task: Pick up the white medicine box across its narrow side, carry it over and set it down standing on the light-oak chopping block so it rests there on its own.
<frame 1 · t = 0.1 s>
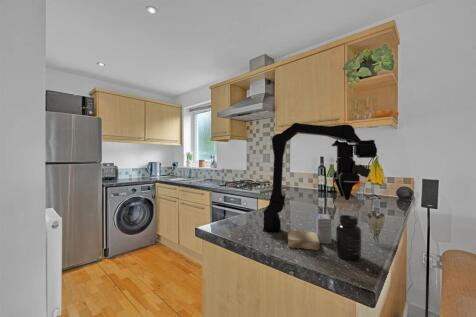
hand: (344, 198, 86), 15 cm above the counter, fingers open, 9 cm apart
supplement bottle: (348, 257, 67), on the counter
oak block: (302, 244, 78), on the counter
medicine box: (323, 240, 81), on the counter
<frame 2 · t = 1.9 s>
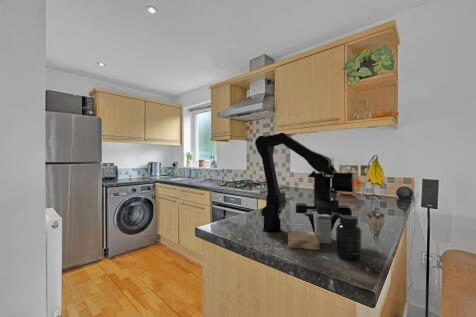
hand: (321, 232, 81), 3 cm above the counter, fingers open, 5 cm apart
oak block: (302, 244, 78), on the counter, touching gripper
medicine box: (323, 240, 81), on the counter, touching gripper
everything else where it was.
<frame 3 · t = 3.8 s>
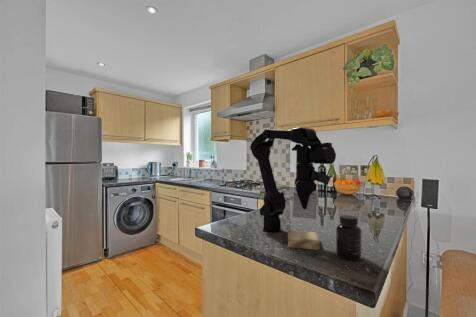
hand: (304, 207, 78), 12 cm above the counter, fingers closed on medicine box, 4 cm apart
oak block: (302, 244, 78), on the counter
medicine box: (303, 217, 78), point 9 cm above the counter, touching gripper
everything else where it was.
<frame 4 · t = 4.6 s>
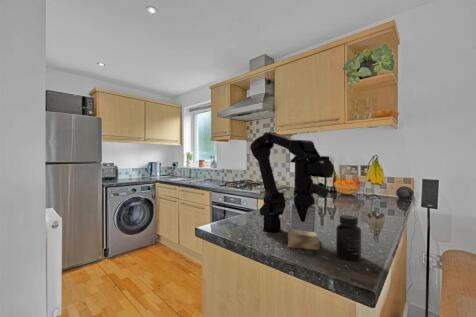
hand: (302, 219, 78), 8 cm above the counter, fingers closed on medicine box, 4 cm apart
medicine box: (302, 229, 78), point 4 cm above the counter, touching gripper
everything else where it was.
when the fingers open (6 cm above the counter, at t = 5.2 s): medicine box stays where it is, point 2 cm above the counter.
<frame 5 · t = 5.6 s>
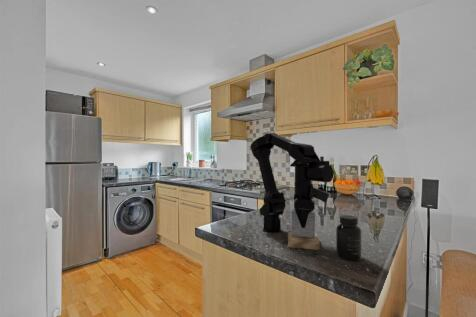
hand: (302, 224, 78), 6 cm above the counter, fingers open, 8 cm apart
medicine box: (302, 236, 78), point 2 cm above the counter
everything else where it was.
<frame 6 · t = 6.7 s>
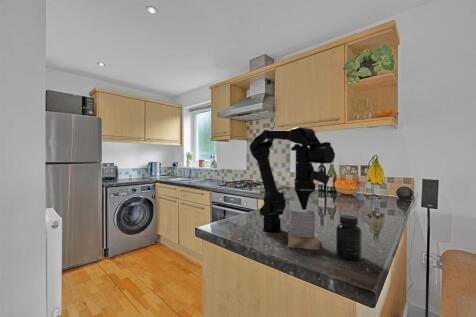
hand: (303, 207, 79), 12 cm above the counter, fingers open, 9 cm apart
oak block: (302, 244, 78), on the counter, touching medicine box
medicine box: (302, 236, 78), point 2 cm above the counter, touching oak block
everything else where it was.
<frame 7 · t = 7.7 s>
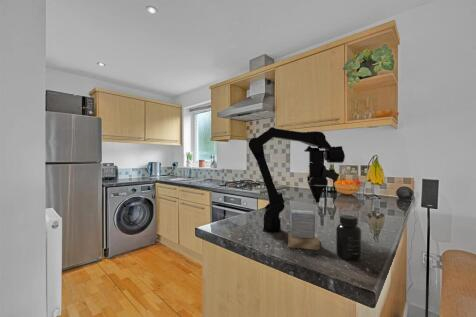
hand: (316, 200, 91), 13 cm above the counter, fingers open, 9 cm apart
nothing on the counter moved.
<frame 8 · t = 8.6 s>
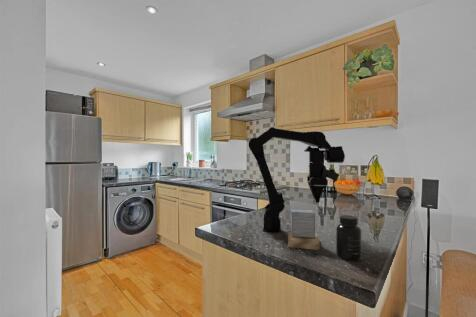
hand: (316, 200, 91), 12 cm above the counter, fingers open, 9 cm apart
nothing on the counter moved.
at the end: medicine box 0.2 cm from the oak block (horizontally); medicine box point 2.1 cm above the counter; medicine box tilted 1° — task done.
